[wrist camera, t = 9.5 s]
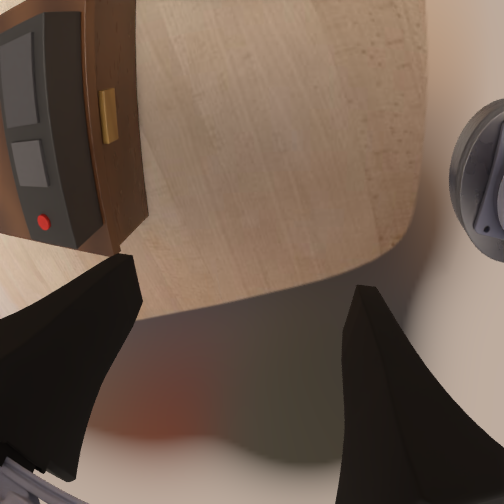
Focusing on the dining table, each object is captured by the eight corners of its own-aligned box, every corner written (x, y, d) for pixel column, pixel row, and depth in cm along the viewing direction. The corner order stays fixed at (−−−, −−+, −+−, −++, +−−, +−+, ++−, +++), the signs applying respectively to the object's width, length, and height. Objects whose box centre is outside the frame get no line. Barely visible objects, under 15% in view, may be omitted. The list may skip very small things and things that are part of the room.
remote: (31, 30, 11) (-8, 36, 9) (81, 10, 10) (40, 11, 8) (57, 218, 18) (28, 241, 16) (103, 225, 17) (75, 252, 15)
